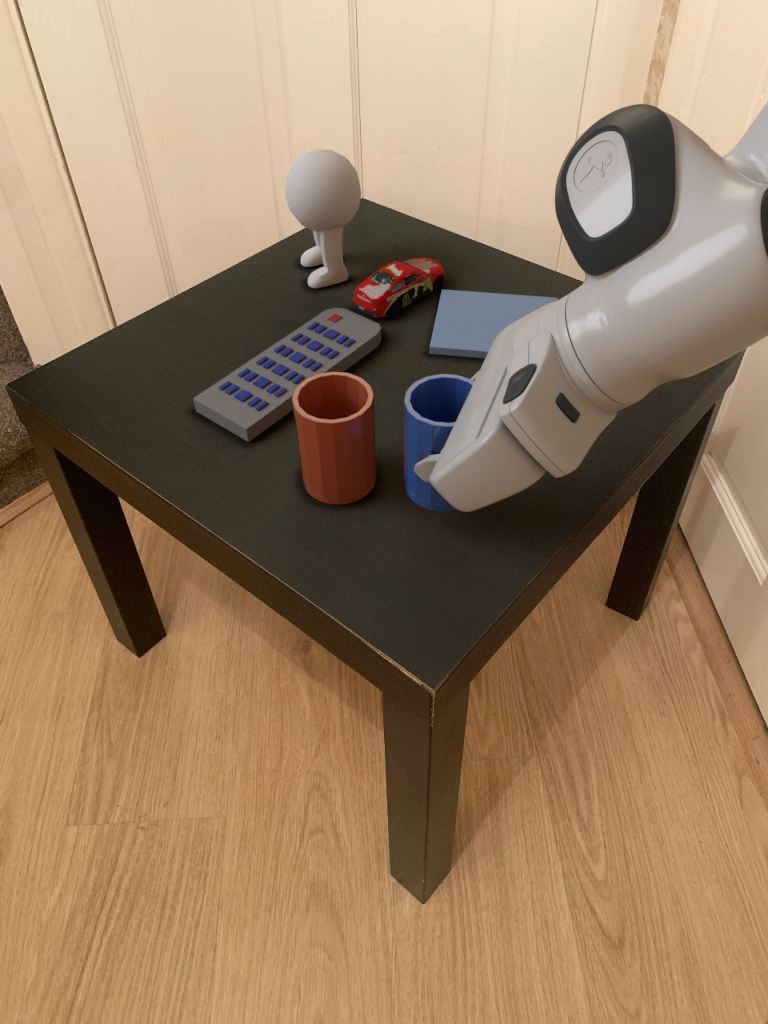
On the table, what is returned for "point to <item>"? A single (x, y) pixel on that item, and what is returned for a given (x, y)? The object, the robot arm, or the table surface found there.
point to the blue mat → (477, 320)
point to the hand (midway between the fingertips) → (436, 439)
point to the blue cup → (430, 429)
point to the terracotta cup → (336, 436)
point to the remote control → (287, 371)
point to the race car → (398, 286)
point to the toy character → (323, 209)
